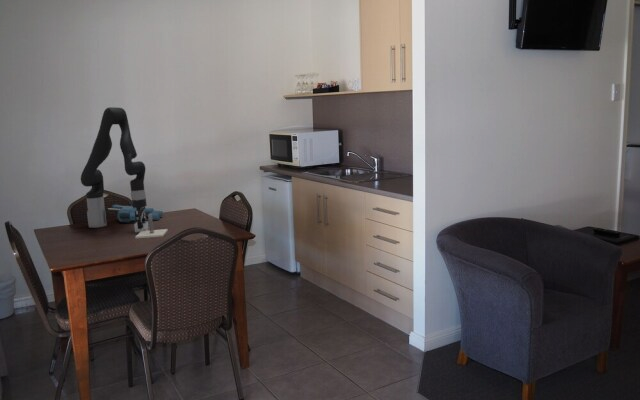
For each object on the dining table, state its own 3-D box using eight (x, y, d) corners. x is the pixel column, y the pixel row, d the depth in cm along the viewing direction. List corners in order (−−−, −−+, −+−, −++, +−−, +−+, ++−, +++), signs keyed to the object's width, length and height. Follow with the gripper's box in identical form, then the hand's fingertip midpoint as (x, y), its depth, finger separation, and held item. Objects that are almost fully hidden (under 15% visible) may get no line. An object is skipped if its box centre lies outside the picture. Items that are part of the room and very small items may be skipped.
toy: (156, 211, 333) (104, 207, 331) (155, 226, 334) (104, 222, 332) (164, 205, 355) (116, 201, 353) (164, 219, 357) (115, 215, 355)
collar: (135, 232, 309) (134, 224, 308) (137, 230, 315) (136, 222, 314) (146, 231, 309) (145, 223, 308) (148, 229, 315) (147, 221, 314)
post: (135, 238, 293) (133, 217, 291) (141, 232, 307) (139, 212, 305) (162, 236, 294) (160, 215, 292) (167, 230, 308) (165, 211, 306)
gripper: (134, 196, 316) (138, 225, 318) (128, 200, 302) (131, 230, 304) (148, 195, 316) (151, 224, 319) (142, 199, 302) (146, 229, 305)
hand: (141, 227), depth 312 cm, fingers open, 8 cm apart
